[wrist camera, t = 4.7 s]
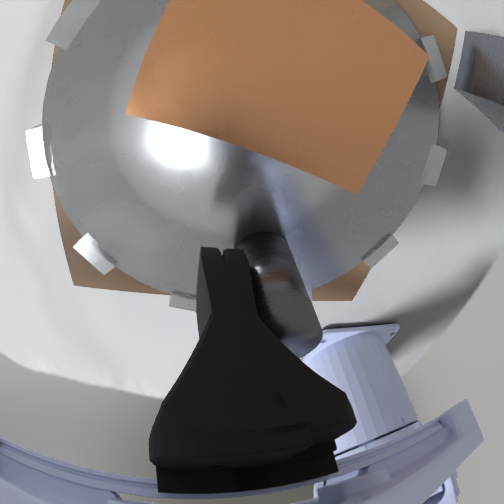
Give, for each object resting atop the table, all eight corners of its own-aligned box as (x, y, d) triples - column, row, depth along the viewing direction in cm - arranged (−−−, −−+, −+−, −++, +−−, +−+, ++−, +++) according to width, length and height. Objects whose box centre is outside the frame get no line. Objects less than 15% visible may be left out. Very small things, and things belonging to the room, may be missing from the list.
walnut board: (350, 297, 17) (351, 300, 17) (75, 282, 13) (74, 285, 13) (453, 27, 6) (457, 28, 6) (91, -62, 2) (89, -64, 2)
